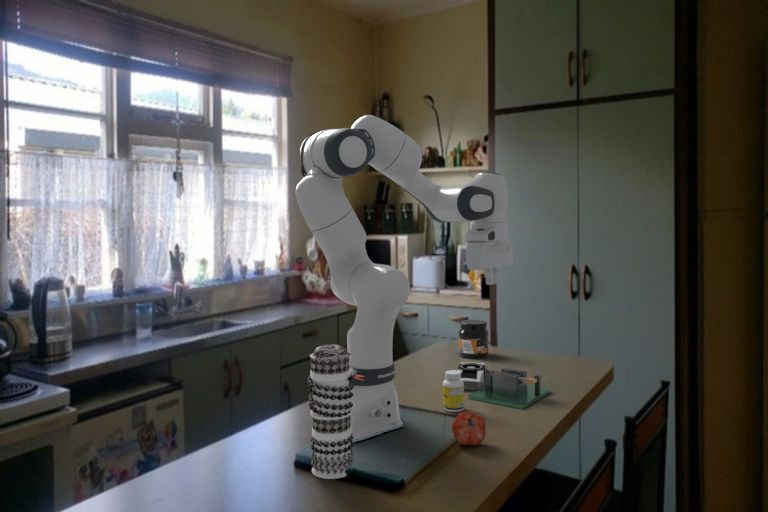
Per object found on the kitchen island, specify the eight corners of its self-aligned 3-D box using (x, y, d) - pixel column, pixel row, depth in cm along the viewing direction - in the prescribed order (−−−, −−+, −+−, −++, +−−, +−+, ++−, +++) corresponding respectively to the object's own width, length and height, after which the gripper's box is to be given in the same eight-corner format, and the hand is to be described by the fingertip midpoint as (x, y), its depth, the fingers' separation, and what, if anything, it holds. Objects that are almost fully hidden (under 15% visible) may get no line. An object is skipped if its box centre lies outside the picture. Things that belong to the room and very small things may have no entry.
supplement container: (464, 360, 212) (464, 325, 211) (454, 353, 223) (454, 320, 222) (493, 358, 214) (493, 323, 214) (482, 351, 225) (482, 318, 224)
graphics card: (450, 380, 177) (459, 359, 201) (450, 392, 177) (459, 370, 202) (485, 382, 175) (490, 361, 199) (485, 394, 175) (490, 371, 199)
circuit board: (522, 409, 160) (522, 384, 159) (468, 398, 170) (468, 375, 169) (550, 392, 174) (550, 369, 173) (499, 383, 184) (499, 361, 183)
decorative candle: (330, 457, 131) (327, 340, 129) (364, 467, 126) (362, 345, 124) (300, 472, 124) (296, 348, 122) (335, 483, 118) (332, 354, 116)
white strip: (533, 384, 166) (532, 379, 166) (487, 380, 174) (487, 375, 174) (537, 382, 168) (537, 377, 168) (492, 377, 176) (492, 372, 176)
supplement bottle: (442, 406, 164) (442, 369, 163) (463, 405, 163) (462, 369, 163) (443, 412, 158) (443, 374, 157) (465, 412, 158) (464, 374, 157)
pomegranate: (450, 448, 140) (447, 434, 132) (456, 417, 144) (453, 402, 136) (483, 454, 138) (482, 441, 130) (488, 423, 142) (487, 408, 134)
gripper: (498, 231, 177) (498, 279, 178) (461, 234, 161) (462, 287, 162) (518, 231, 174) (519, 280, 175) (483, 235, 157) (483, 289, 158)
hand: (491, 284), depth 168 cm, fingers closed
